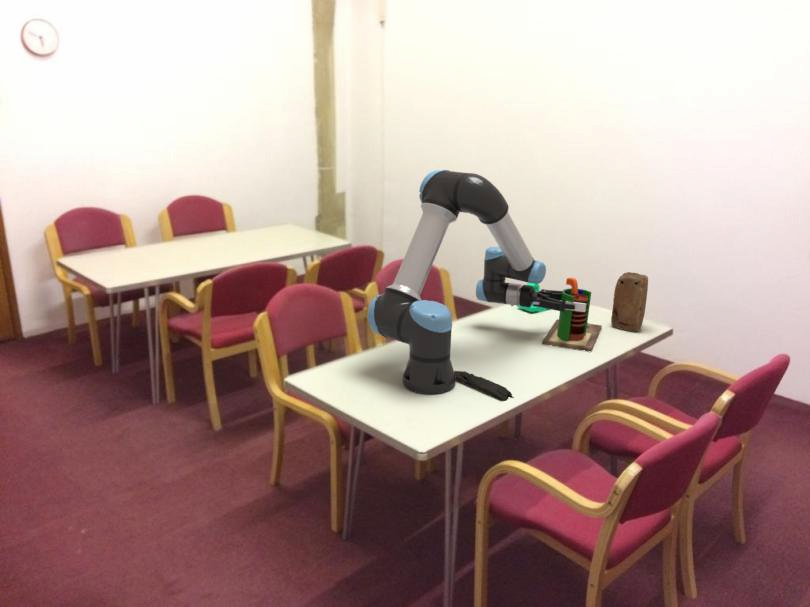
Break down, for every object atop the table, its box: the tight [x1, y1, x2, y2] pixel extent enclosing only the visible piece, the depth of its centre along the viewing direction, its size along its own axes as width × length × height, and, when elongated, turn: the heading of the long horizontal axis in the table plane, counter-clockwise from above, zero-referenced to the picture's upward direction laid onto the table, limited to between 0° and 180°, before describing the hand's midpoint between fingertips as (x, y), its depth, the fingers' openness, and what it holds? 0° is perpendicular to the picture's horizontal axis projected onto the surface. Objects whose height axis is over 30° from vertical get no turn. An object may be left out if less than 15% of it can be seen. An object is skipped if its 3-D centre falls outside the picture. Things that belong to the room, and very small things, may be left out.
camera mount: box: [516, 282, 548, 313], centre depth 261 cm, size 12×8×10 cm, turn 127°
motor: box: [557, 277, 592, 341], centre depth 226 cm, size 10×9×20 cm
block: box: [610, 271, 649, 332], centre depth 240 cm, size 11×8×20 cm
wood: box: [454, 370, 515, 402], centre depth 193 cm, size 22×7×3 cm, turn 42°
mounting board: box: [541, 318, 603, 352], centre depth 233 cm, size 16×25×3 cm, turn 157°
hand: (587, 303), depth 223 cm, fingers open, 9 cm apart
